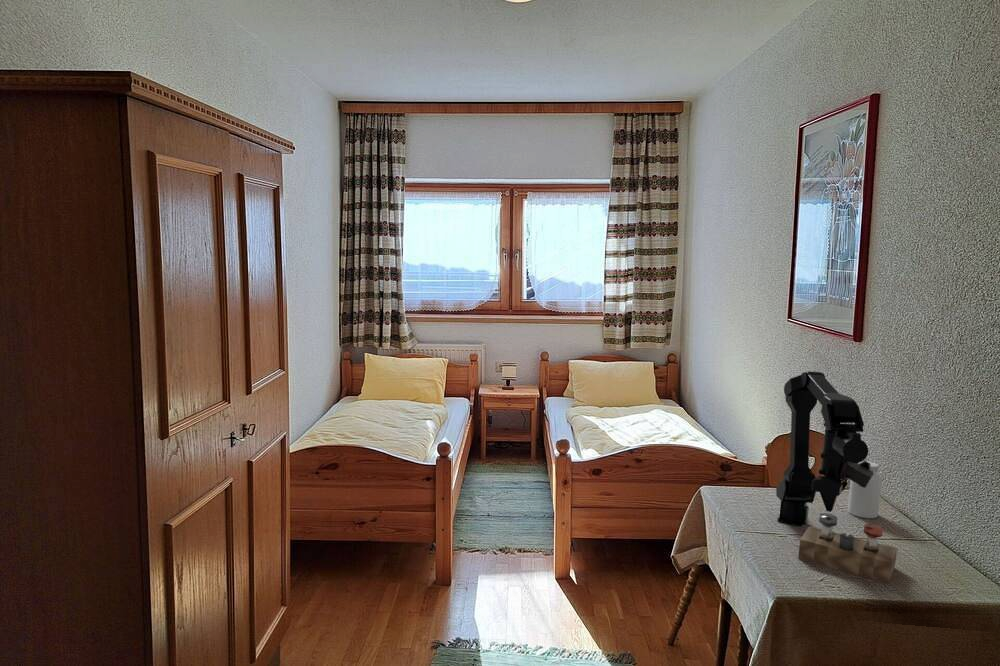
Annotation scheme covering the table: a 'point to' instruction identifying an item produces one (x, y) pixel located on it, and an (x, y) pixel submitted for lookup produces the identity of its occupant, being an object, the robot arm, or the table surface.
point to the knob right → (872, 536)
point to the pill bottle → (866, 496)
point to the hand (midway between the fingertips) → (829, 511)
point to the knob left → (827, 525)
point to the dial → (846, 541)
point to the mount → (848, 555)
